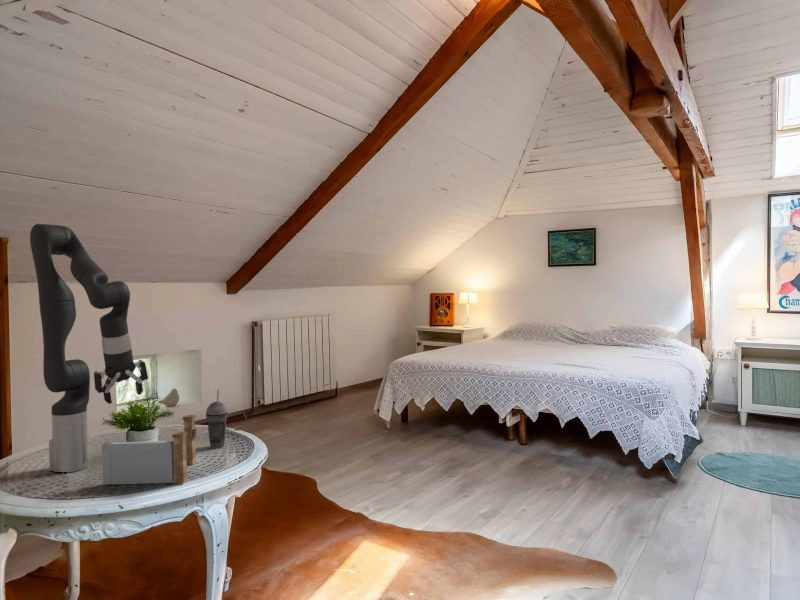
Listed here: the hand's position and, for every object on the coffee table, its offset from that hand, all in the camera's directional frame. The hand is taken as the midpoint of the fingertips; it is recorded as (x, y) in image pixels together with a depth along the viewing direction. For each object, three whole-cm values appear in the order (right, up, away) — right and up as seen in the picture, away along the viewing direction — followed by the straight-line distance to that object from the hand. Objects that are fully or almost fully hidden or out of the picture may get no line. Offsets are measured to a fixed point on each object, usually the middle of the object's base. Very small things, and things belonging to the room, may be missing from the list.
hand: (124, 398), depth 163 cm
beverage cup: (+21, -21, +23) cm, 37 cm away
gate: (+11, -21, -14) cm, 28 cm away
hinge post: (+23, -21, -14) cm, 34 cm away
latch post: (+19, -21, +4) cm, 28 cm away
